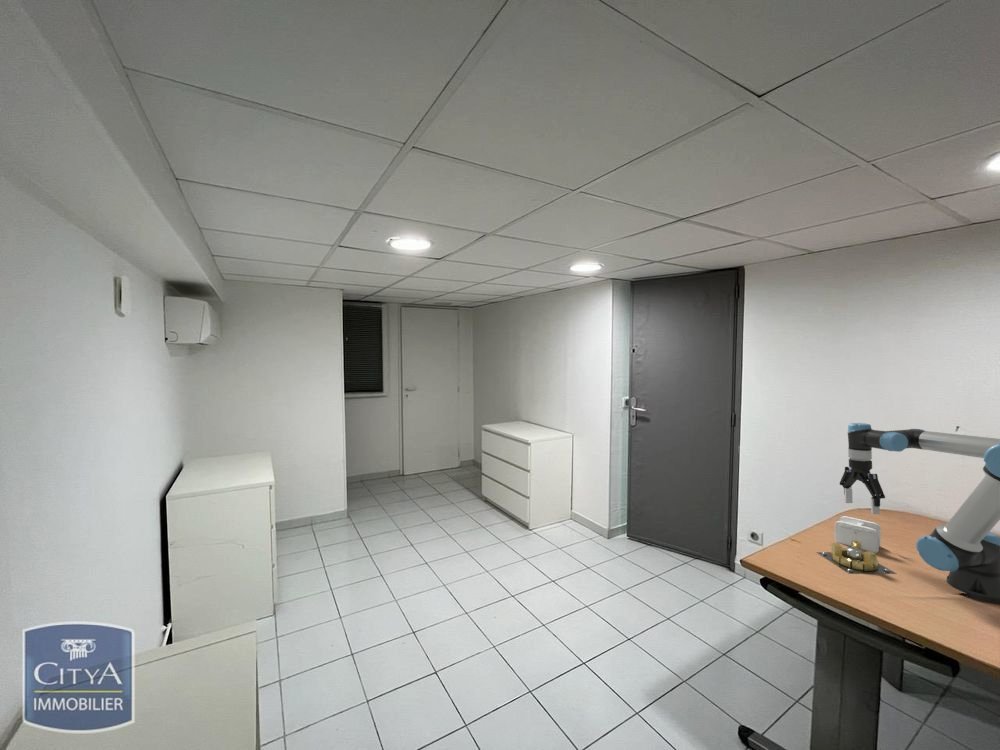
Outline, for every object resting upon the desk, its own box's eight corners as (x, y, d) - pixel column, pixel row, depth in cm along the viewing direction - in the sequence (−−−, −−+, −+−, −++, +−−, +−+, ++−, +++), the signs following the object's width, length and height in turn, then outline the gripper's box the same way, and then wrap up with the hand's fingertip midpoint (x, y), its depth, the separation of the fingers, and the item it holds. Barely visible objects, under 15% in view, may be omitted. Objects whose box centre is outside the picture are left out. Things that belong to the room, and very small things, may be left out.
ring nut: (888, 570, 160) (888, 554, 159) (849, 570, 160) (849, 554, 160) (858, 553, 174) (857, 538, 174) (823, 553, 175) (822, 538, 175)
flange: (896, 577, 158) (896, 560, 158) (848, 577, 159) (848, 559, 159) (858, 555, 176) (858, 539, 176) (816, 555, 177) (815, 539, 177)
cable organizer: (883, 549, 180) (883, 524, 180) (877, 557, 174) (877, 530, 174) (841, 538, 193) (840, 514, 192) (833, 545, 186) (833, 520, 186)
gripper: (896, 465, 160) (897, 518, 160) (845, 453, 185) (847, 498, 185) (876, 466, 161) (878, 518, 161) (829, 453, 185) (830, 498, 186)
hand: (861, 508), depth 173 cm, fingers open, 13 cm apart
